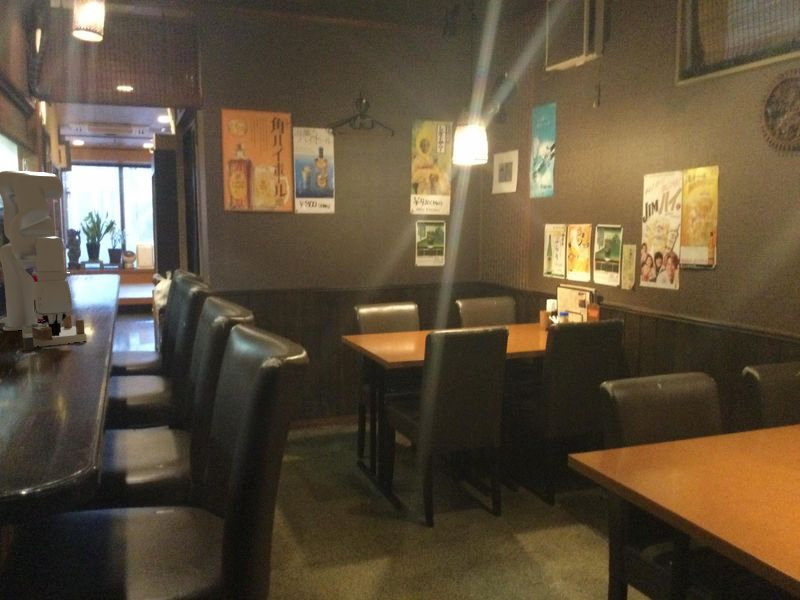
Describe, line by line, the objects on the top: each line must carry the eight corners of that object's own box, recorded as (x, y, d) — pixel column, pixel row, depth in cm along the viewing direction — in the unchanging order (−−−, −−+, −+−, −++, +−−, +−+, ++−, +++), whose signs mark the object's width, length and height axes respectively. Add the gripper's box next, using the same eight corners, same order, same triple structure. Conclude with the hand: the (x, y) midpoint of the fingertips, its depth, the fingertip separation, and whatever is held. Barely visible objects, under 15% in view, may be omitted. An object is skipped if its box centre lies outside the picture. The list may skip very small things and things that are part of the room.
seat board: (16, 338, 215) (15, 317, 214) (75, 333, 225) (73, 313, 224) (25, 350, 192) (23, 327, 191) (90, 344, 203) (88, 322, 202)
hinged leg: (41, 336, 201) (40, 324, 201) (52, 339, 195) (51, 327, 194) (33, 337, 200) (32, 325, 199) (43, 341, 193) (42, 328, 193)
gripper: (73, 274, 204) (76, 331, 207) (20, 277, 194) (24, 337, 196) (81, 276, 199) (84, 334, 201) (27, 279, 189) (31, 340, 191)
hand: (55, 335), depth 199 cm, fingers closed
